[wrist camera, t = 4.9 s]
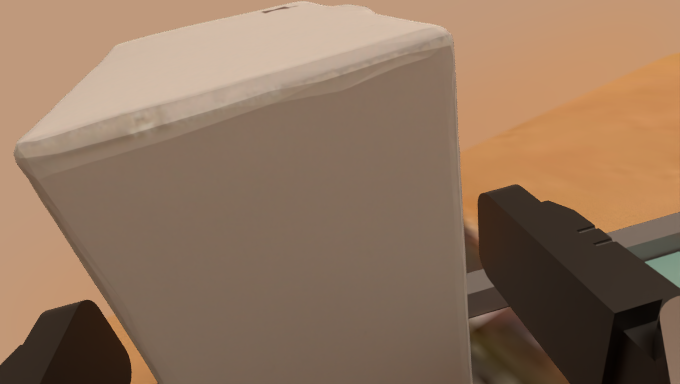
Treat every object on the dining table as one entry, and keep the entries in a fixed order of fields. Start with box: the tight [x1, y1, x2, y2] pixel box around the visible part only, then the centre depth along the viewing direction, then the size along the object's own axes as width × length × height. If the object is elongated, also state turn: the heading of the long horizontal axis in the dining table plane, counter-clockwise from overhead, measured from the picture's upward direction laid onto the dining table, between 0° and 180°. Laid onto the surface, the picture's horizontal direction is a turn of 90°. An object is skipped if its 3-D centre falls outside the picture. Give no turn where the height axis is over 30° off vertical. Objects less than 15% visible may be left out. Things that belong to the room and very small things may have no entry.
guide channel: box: [157, 212, 680, 384], centre depth 12 cm, size 27×10×2 cm, turn 102°
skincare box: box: [14, 1, 473, 384], centre depth 9 cm, size 6×4×12 cm
